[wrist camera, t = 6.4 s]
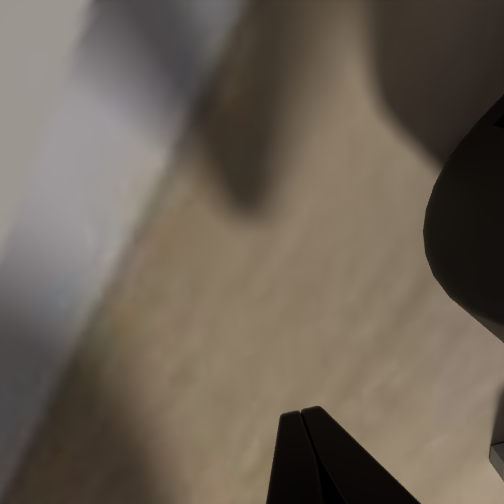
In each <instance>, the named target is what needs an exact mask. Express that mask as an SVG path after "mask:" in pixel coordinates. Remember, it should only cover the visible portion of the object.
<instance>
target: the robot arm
mask: <svg viewBox="0 0 504 504" xmlns="http://www.w3.org/2000/svg"><path fill="white" fill-rule="evenodd" d="M266 504H421V503H420V502H419V501H418V500H417V499H416V498H415V497H414V496H413V495H412V494H410V493H409V492H408V491H407V490H406V489H405V488H404V487H403V486H402V485H401V484H400V483H399V482H398V481H397V480H396V479H395V478H394V477H393V476H392V475H391V474H390V473H389V472H388V471H387V470H386V469H385V468H384V467H383V466H382V465H381V464H380V463H379V462H378V461H377V460H375V459H374V458H373V457H372V456H371V455H370V454H369V453H368V452H367V451H366V450H365V449H364V448H363V447H362V446H361V445H360V444H359V443H358V442H357V441H356V440H355V439H354V438H353V437H352V436H351V435H350V434H349V433H348V432H347V431H346V430H345V429H344V428H343V427H342V426H340V425H339V424H338V423H337V422H336V421H335V420H334V419H333V418H332V417H331V416H330V415H329V414H328V413H327V412H326V411H325V410H324V409H323V408H322V407H320V406H314V407H310V408H305V409H303V410H302V411H301V413H300V411H292V412H288V413H283V414H282V415H281V416H280V420H279V426H278V432H277V438H276V445H275V451H274V457H273V464H272V470H271V476H270V482H269V489H268V495H267V501H266Z"/></svg>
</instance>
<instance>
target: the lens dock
mask: <svg viewBox="0 0 504 504" xmlns="http://www.w3.org/2000/svg"><path fill="white" fill-rule="evenodd" d="M489 461H490V463H491V464H492V466H493V467H494V468H495V470H496V471H497V473H498V474H499V475H500V477H501V478H502V480H503V481H504V443H501V444H497V445H493V446H491V452H490V460H489Z"/></svg>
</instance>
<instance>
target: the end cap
mask: <svg viewBox="0 0 504 504" xmlns="http://www.w3.org/2000/svg"><path fill="white" fill-rule="evenodd" d="M423 236H424V246H425V254H426V257H427V260H428V263H429V265H430V268H431V271H432V273H433V276H434V277H435V278H436V280H437V281H438V282H439V284H440V285H441V286H442V288H443V289H444V290H445V292H446V293H447V294H448V296H449V297H450V298H451V299H452V300H454V301H455V302H456V303H457V304H458V305H460V306H461V307H462V308H463V309H464V310H465V311H467V312H468V313H469V314H470V315H471V316H473V317H474V318H475V319H476V320H477V321H479V322H480V323H481V324H482V325H483V326H484V327H486V328H487V329H488V330H489V331H490V332H492V333H493V334H494V335H495V336H496V337H498V338H499V339H500V340H501V341H502V342H503V343H504V95H503V96H502V97H501V98H500V99H499V100H498V101H497V102H496V103H495V104H494V105H493V106H492V107H491V108H490V109H489V110H488V111H487V112H486V113H485V115H484V116H483V117H482V118H481V119H480V120H479V121H478V122H477V123H476V124H475V125H474V127H473V128H472V129H471V131H470V132H469V133H468V134H467V135H466V136H465V138H464V139H463V140H462V141H461V142H460V143H459V145H458V146H457V148H456V149H455V151H454V152H453V153H452V155H451V156H450V158H449V159H448V161H447V162H446V164H445V165H444V167H443V169H442V171H441V173H440V175H439V177H438V179H437V181H436V183H435V185H434V187H433V190H432V193H431V196H430V199H429V202H428V205H427V208H426V213H425V220H424V228H423Z"/></svg>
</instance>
